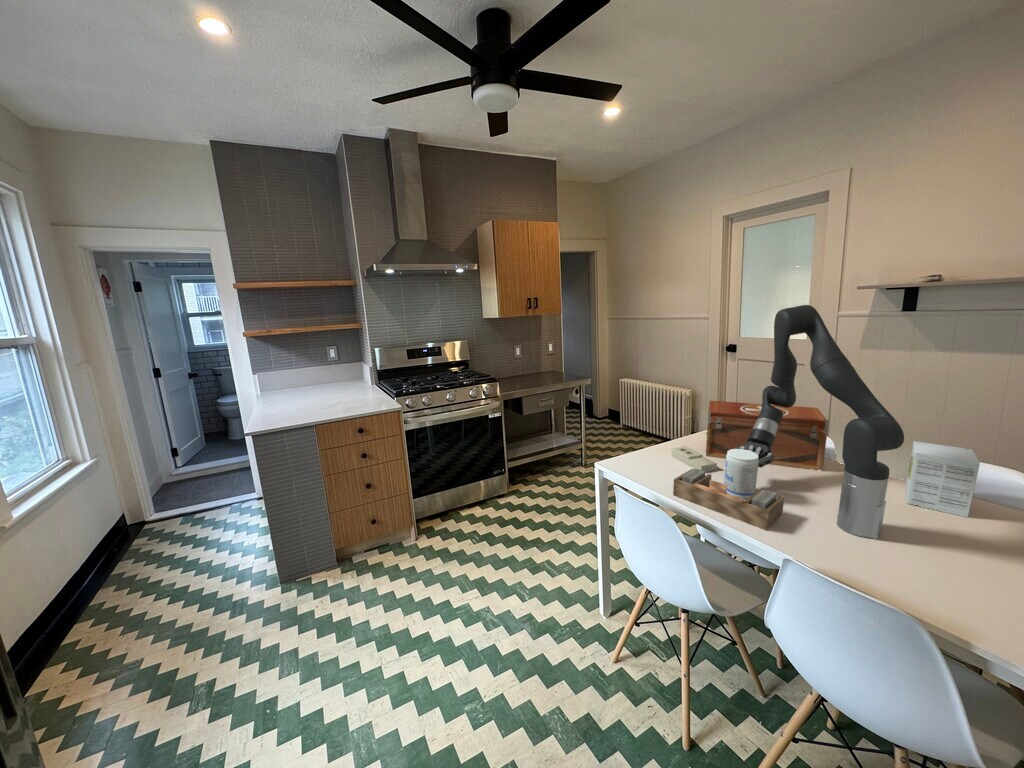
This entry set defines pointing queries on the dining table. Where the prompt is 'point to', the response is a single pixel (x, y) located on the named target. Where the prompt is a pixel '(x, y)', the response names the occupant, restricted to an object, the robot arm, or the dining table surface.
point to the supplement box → (942, 477)
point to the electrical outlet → (693, 459)
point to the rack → (729, 499)
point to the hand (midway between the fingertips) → (746, 474)
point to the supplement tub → (741, 472)
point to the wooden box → (794, 440)
